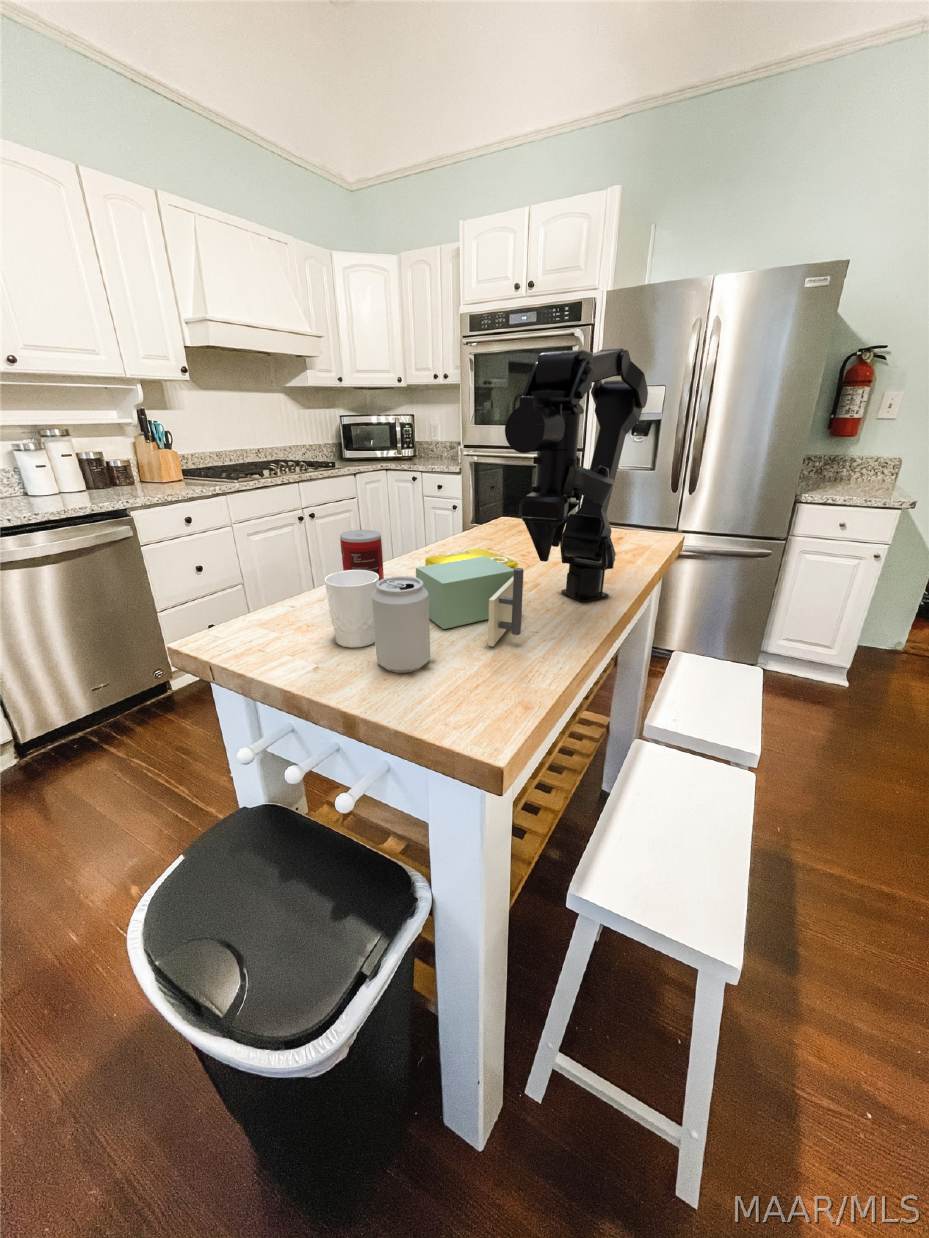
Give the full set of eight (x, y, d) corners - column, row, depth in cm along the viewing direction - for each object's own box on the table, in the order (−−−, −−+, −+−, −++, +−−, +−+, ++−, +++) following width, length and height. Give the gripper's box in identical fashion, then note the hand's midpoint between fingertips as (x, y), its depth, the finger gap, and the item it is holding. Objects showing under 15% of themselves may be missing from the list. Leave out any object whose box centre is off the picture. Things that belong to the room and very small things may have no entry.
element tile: (479, 565, 114) (479, 545, 112) (521, 583, 102) (522, 560, 100) (422, 577, 106) (421, 555, 104) (460, 597, 95) (460, 573, 93)
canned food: (365, 580, 104) (360, 527, 100) (393, 587, 100) (389, 533, 96) (336, 590, 99) (330, 535, 94) (364, 598, 94) (360, 541, 90)
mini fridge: (484, 596, 95) (484, 556, 92) (514, 614, 87) (516, 570, 84) (417, 610, 89) (415, 567, 85) (443, 630, 81) (442, 583, 77)
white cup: (392, 632, 80) (388, 572, 76) (367, 653, 73) (362, 588, 69) (349, 625, 82) (343, 567, 78) (321, 645, 75) (313, 582, 72)
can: (422, 678, 66) (418, 593, 62) (368, 672, 68) (361, 589, 63) (436, 653, 73) (434, 575, 68) (387, 648, 74) (382, 571, 70)
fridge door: (514, 613, 86) (517, 547, 82) (538, 617, 85) (542, 550, 80) (488, 645, 75) (489, 570, 70) (515, 650, 73) (518, 574, 69)
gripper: (608, 455, 62) (595, 576, 68) (619, 446, 78) (608, 544, 84) (520, 453, 65) (515, 568, 71) (548, 444, 81) (542, 538, 87)
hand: (549, 553), depth 78 cm, fingers open, 9 cm apart
